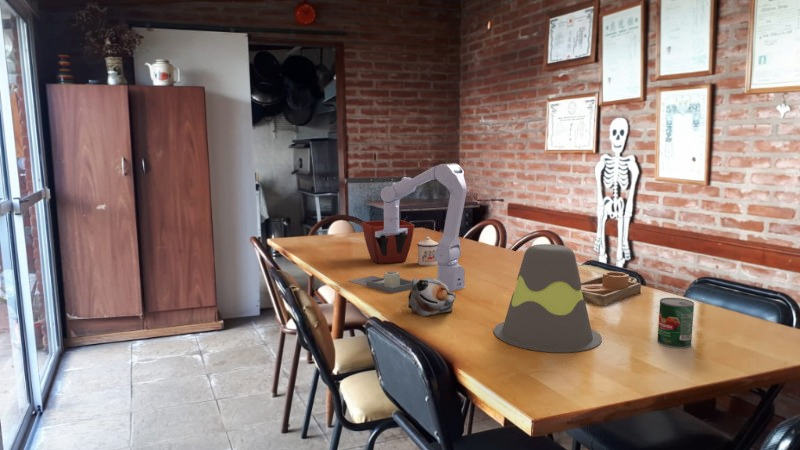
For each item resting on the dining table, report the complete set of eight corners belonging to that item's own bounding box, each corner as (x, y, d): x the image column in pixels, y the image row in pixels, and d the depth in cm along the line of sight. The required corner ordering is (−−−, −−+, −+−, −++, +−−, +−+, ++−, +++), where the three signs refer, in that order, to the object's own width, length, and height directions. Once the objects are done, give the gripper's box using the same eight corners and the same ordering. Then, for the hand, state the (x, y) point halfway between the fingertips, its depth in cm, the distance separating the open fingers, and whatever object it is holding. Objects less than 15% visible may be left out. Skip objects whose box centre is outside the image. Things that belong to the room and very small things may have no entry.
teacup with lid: (421, 266, 240) (421, 239, 238) (414, 262, 248) (414, 236, 247) (447, 264, 244) (448, 237, 242) (439, 260, 252) (439, 234, 251)
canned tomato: (652, 343, 146) (654, 301, 144) (664, 336, 151) (666, 295, 150) (684, 351, 140) (687, 307, 139) (696, 343, 146) (699, 301, 144)
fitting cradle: (640, 291, 197) (641, 283, 197) (604, 305, 180) (604, 296, 180) (600, 284, 208) (600, 276, 208) (562, 296, 191) (562, 287, 191)
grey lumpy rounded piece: (459, 308, 178) (466, 274, 169) (444, 332, 169) (450, 298, 161) (416, 290, 183) (421, 257, 174) (399, 313, 174) (403, 279, 165)
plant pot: (361, 257, 259) (361, 221, 257) (401, 255, 265) (401, 219, 263) (372, 266, 241) (372, 226, 239) (415, 263, 247) (415, 224, 245)
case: (417, 288, 202) (417, 282, 202) (392, 294, 194) (392, 288, 194) (391, 282, 212) (391, 275, 212) (366, 287, 204) (366, 281, 204)
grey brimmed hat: (523, 313, 172) (525, 235, 169) (617, 332, 155) (621, 245, 151) (474, 337, 151) (475, 247, 148) (576, 362, 133) (580, 261, 130)
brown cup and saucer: (617, 290, 200) (618, 270, 199) (633, 296, 192) (634, 276, 192) (572, 293, 196) (572, 273, 195) (585, 299, 188) (586, 279, 187)
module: (399, 286, 203) (399, 272, 202) (391, 288, 200) (391, 273, 200) (392, 284, 206) (392, 270, 205) (384, 286, 203) (383, 271, 203)
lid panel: (391, 282, 212) (391, 278, 212) (366, 287, 204) (366, 284, 204) (372, 277, 220) (372, 274, 220) (347, 282, 212) (347, 278, 212)
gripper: (398, 215, 221) (399, 250, 223) (369, 219, 211) (370, 255, 213) (411, 217, 215) (411, 252, 217) (381, 220, 206) (382, 257, 208)
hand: (391, 254), depth 215 cm, fingers open, 7 cm apart
